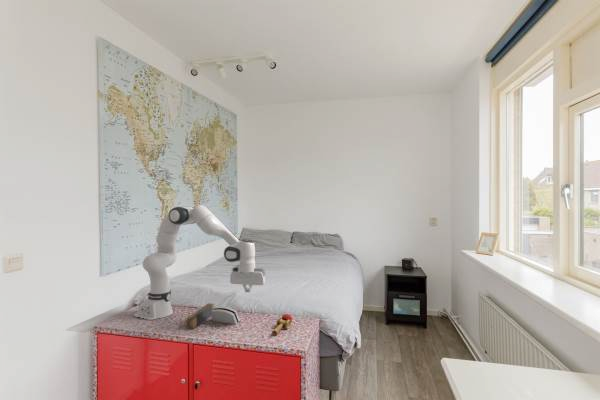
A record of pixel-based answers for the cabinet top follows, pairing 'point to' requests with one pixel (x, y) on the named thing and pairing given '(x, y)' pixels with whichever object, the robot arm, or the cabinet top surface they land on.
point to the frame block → (195, 318)
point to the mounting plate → (204, 315)
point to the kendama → (282, 323)
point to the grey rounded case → (225, 315)
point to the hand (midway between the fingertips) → (247, 292)
